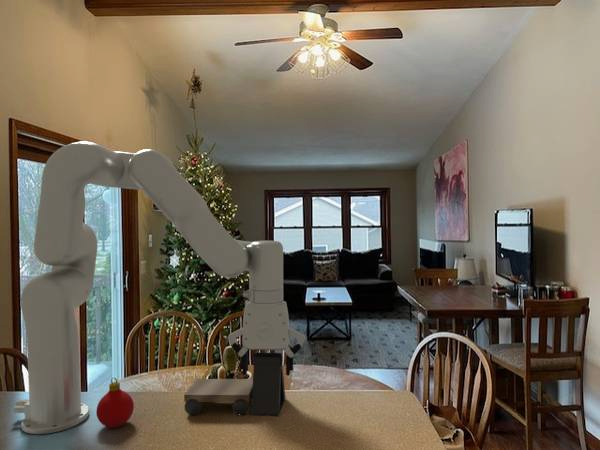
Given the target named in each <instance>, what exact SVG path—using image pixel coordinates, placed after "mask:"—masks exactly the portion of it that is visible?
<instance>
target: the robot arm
mask: <svg viewBox="0 0 600 450" xmlns="http://www.w3.org/2000/svg"><path fill="white" fill-rule="evenodd" d="M89 184H90V185H93V186H95V185H96V186H99V187H105V188H114V189H115V188H119V189H127V190H137V191H138V190H139V191H140V190H141V192H143V194H144V195H145V196H146V197H147V198H148V199H149V201H151V202H152V204H154V205H155V207H157V209H158V210H159V211H161V213H162V214H163V215H164V216H165V217H166V219H168V221H170V223H172V225H173V226H174V228H175V229H176V231H177V232H178V233H179V234H180V235H181V236H182V237H183V238H184V240H185V241H186V242H187V244H189V246H190V248H192V250H193V251H194V252H195V253H196V255H197V254H198V256H199V257H200V258H201V259H202V260H203V261H204V262H205V263H206V265H208V267H210V269H212V271H214V272H215V273H216V274H217V275H219V276H220V277H223V278H227V279H228V278H229V279H230V278H231V279H232V278H233V279H234V278H236V277H238V276H240V275H241V274H243V273H244V272H248V278H249V280H248V281H249V282H248V283H249V284H248V286H249V289H247V290H244V291H242V297H243V298H247V299H248V301H247V302H245V305H244V311H243V319H242V327H241V328H239V329H237V330H235V331H233V332H232V333H229V334H228V336H227V340H228V342H229V344H230V345H231V348H232V349H233V350H234V351H235V352H236V353H237V355H238V357H239V369H240V370H242V375H243V376H245V375H246V374H247V373H248V371H249V354H248V351H251V350H252V351H284V353H285V354H286V357H285V375H286V376H288V377H289V376H290V374H291V371H294V356H295V355H296V354H297V353H298V352H299V351H300V350H301V348H302V346H303V344H304V343H305V341H306V338H307V337H306V335H305V334H303V333H301V332H299V331H298V330H295V329H294V328H291V327H290V318H289V310H288V306H287V305H288V304H287V301H284V246H283V244H282V243H281V242H280V241H277V240H255V241H249V240H239V239H235V238H234V237H233V236H232V235H231V234H230V233H229V232H228V230H227V229H226V228H225V227H224V226H223V225H222V224H221V223H220V222H219V220H218V219H217V218H216V217H215V215H214V214H213V213H212V212H211V210H210V209H209V206H208V205H207V202H206V200H205V199H204V198H203V196H202V195H201V194H200V193H199V192H198V190H196V188H194V186H192V185H191V184H190V182H189V181H188V180H186V178H185V177H184V176H183V175H182V174H181V173H180V172H179V171H178V170H177V169H176V167H175V165H174V163H173V162H172V160H170V159H169V158H168V157H167V156H166V155H164V154H163V153H161V152H159V151H158V150H156V149H152V148H151V149H150V148H149V149H142V150H139V151H137V152H136V153H135V152H124V151H116V150H111V149H109V148H107V147H105V146H103V145H101V144H98V143H96V142H90V141H77V142H71V143H69V144H66V145H64V146H61V147H60V148H58V149H57V150H56V151H54V152H53V153H52V154H51V155H50V156H49V157H48V159H47V161H46V163H45V164H44V168H43V170H42V176H41V183H40V194H39V195H40V196H39V202H38V203H39V205H38V211H37V218H36V225H35V227H36V228H35V232H34V240H33V242H34V243H33V251H34V255H35V257H36V259H37V260H38V261H39V262H40V263H41V264H44V265H46V266H48V267H50V266H51V271H47V272H44V273H40V274H39V275H36V276H34V278H32V279H30V280H29V281H28V282H27V283H26V284H25V286H24V287H23V290H22V291H21V295H20V307H21V312H22V317H23V322H24V326H25V336H26V351H27V373H28V374H27V377H28V399H27V398H26V399H23V398H22V399H18V400H16V402H15V406H14V407H13V410H12V411H13V413H14V414H22V413H23V414H24V418H23V419H22V420H21V423H20V424H21V425H20V426H21V427H20V428H21V430H22V431H23V432H25V433H27V434H31V435H45V434H51V433H52V434H53V433H57V432H61V431H65V430H68V429H70V428H73V427H75V426H77V425H79V424H81V423H83V422H84V421H85V420H86V419H87V418H88V417H89V415H90V408H89V405H87V404H85V403H82V398H81V397H82V393H81V369H80V367H81V365H80V364H81V363H80V341H79V340H80V339H79V338H80V337H79V330H78V323H77V320H76V316H75V313H74V312H75V311H74V309H76V308H78V307H80V306H81V305H83V304H84V303H85V302H86V301H87V300H88V299H89V297H90V295H91V293H92V290H93V287H94V281H95V280H94V279H95V270H96V263H97V255H98V239H97V235H96V233H95V231H94V230H93V229H92V227H91V225H90V226H89V225H88V224H87V223H84V215H85V210H86V196H85V195H86V194H85V189H86V186H87V185H89ZM240 336H242V339H241V340H242V341H241V342H242V345H241V344H240V343H239V342H238V340H237V338H238V337H240ZM291 337H293V338H295V339H297V341H296V343H295V344H294V345H293V346H292V345H291V343H290V338H291Z"/></svg>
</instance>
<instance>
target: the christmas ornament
mask: <svg viewBox="0 0 600 450" xmlns="http://www.w3.org/2000/svg"><path fill="white" fill-rule="evenodd" d="M113 379H114V380H115V381H114V382H113ZM108 388H109V389H108V392H107V393H105V394H104V395H103V396H102V397H101V398H100V400H99V401H98V404H97V406H96V417H97V420H98V422H100V424H102V425H103V426H105V427H107V428H118V427H121V426H123V425H124V424H126V423H127V422H128V421H129V420H130V419H131V417H132V415H133V412H134V408H135V404H134V400H133V397H132V396H131V395H130V394H129V393H128V392H126V391H124V390H122V389H120V388H121V383H120V382H118V380H117V378H116V377H112V378H111V380H110V383H109V385H108Z"/></svg>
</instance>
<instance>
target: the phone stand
mask: <svg viewBox="0 0 600 450" xmlns="http://www.w3.org/2000/svg"><path fill="white" fill-rule="evenodd" d="M252 365H253V374H252V379H253V389H252V399H251V406H250V407H251V409H250V410H251V411H250V415H251V416H265V415H266V416H265V417H267V415H268V417H279V416H280V414H281V412H280V411H282V409H283V406H284V403H285V400H286V388H285V379H284V369H283V367H284V366H283V353H282V352H255V353H254V354H253V364H252Z"/></svg>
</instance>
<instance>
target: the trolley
mask: <svg viewBox="0 0 600 450" xmlns="http://www.w3.org/2000/svg"><path fill="white" fill-rule="evenodd" d="M252 389H253V378H196V379H195V380H194V381H193V383H192V385H191V386H190V387H189V388H188V389H187V390H186V392H184V393H185V394H184V396H183V400H184V403H185V404H184V410H185V412H186V413H187V415H190V416H197V415H198V414H199V413H201V411H202V409H203V406H204V403H209V402H210V403H232V406H231V407H232V411H233V413H234V414H236V415H237V416H240V415H242V416H245V415H246V414H247V413H248V412H249V411H250V407H251V401H252ZM239 414H240V415H239Z"/></svg>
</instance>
